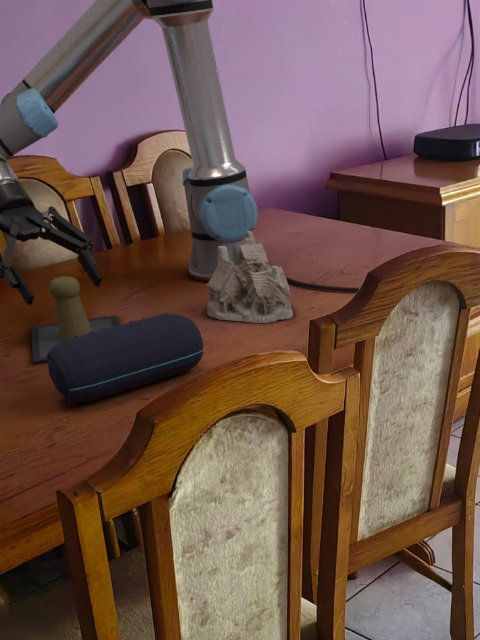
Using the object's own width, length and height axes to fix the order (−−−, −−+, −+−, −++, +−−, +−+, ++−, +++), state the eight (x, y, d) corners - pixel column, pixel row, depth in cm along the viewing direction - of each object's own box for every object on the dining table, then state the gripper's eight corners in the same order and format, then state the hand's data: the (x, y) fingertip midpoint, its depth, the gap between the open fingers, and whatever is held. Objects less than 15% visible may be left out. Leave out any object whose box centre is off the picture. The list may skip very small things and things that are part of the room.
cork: (64, 332, 160) (49, 274, 154) (96, 330, 160) (83, 272, 154) (56, 343, 155) (40, 283, 149) (89, 341, 155) (75, 282, 149)
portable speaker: (183, 358, 149) (173, 302, 143) (213, 373, 143) (204, 315, 137) (46, 399, 135) (29, 339, 129) (73, 418, 128) (57, 355, 123)
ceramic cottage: (202, 306, 172) (194, 231, 164) (279, 298, 178) (275, 225, 169) (219, 334, 161) (212, 255, 152) (301, 325, 166) (298, 248, 158)
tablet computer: (116, 318, 168) (115, 315, 168) (126, 350, 152) (126, 347, 152) (31, 329, 163) (31, 326, 163) (33, 364, 148) (32, 361, 147)
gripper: (62, 196, 164) (120, 287, 164) (-67, 220, 149) (-3, 320, 149) (69, 170, 158) (130, 263, 158) (-64, 192, 143) (3, 296, 143)
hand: (66, 291), depth 153 cm, fingers open, 13 cm apart
